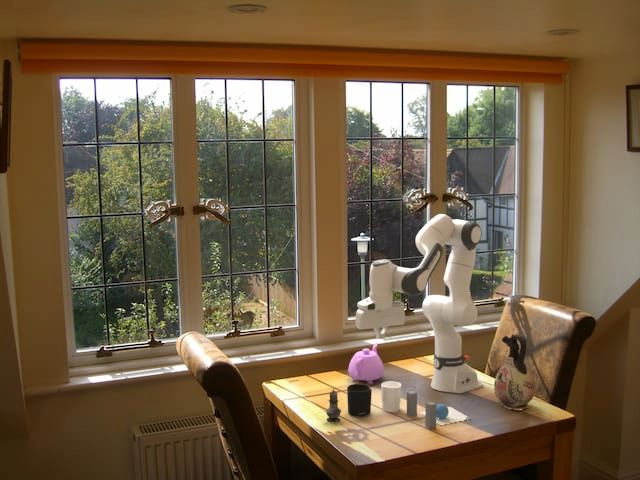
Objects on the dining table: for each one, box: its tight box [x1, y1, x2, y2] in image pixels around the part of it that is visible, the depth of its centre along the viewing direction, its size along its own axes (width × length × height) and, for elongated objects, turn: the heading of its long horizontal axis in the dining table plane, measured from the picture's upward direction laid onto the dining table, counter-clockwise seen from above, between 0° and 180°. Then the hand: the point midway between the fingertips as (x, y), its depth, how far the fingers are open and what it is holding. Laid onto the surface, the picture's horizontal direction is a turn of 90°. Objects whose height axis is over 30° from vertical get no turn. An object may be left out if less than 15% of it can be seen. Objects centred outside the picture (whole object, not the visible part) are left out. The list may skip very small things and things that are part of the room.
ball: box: [436, 403, 449, 419], centre depth 260 cm, size 6×6×6 cm
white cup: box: [380, 380, 402, 413], centre depth 270 cm, size 8×8×10 cm
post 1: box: [406, 390, 418, 418], centre depth 264 cm, size 3×3×9 cm
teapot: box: [348, 343, 385, 385], centre depth 306 cm, size 22×16×14 cm
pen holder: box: [346, 383, 373, 418], centre depth 266 cm, size 9×9×10 cm
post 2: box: [424, 401, 437, 430], centre depth 252 cm, size 3×3×9 cm
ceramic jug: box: [493, 334, 536, 410], centre depth 270 cm, size 17×15×30 cm
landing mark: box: [419, 406, 468, 426], centre depth 263 cm, size 14×14×1 cm
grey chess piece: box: [325, 389, 342, 423], centre depth 259 cm, size 6×6×12 cm
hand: (380, 338), depth 264 cm, fingers closed
